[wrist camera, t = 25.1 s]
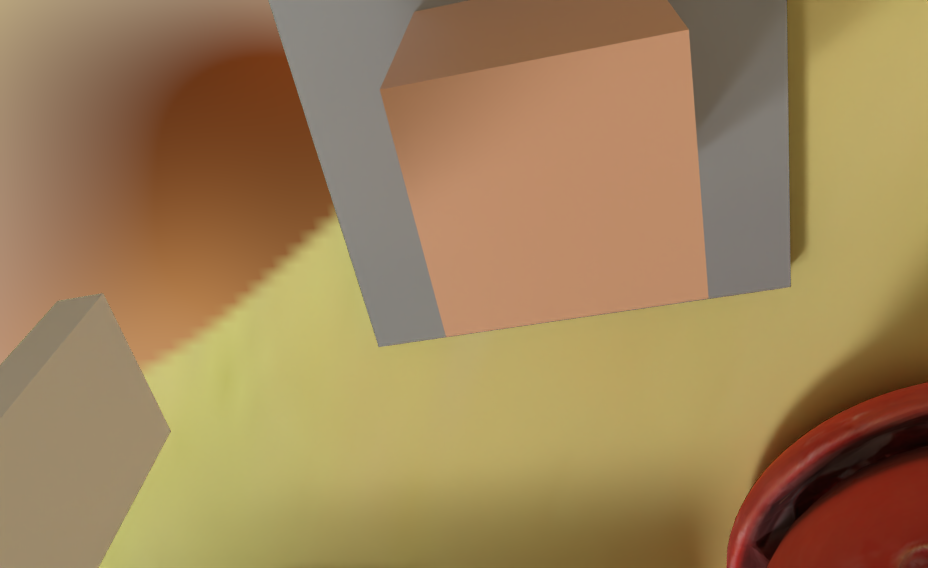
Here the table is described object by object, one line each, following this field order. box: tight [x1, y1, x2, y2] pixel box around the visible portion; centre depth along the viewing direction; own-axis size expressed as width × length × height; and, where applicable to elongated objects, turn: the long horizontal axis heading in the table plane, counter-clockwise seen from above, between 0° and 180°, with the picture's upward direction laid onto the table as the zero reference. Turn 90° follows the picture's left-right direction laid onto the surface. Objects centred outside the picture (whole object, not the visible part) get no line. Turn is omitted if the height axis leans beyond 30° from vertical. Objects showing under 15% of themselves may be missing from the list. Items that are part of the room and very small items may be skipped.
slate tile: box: [269, 0, 791, 347], centre depth 18 cm, size 10×10×1 cm
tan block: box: [380, 0, 709, 337], centre depth 15 cm, size 4×4×5 cm
